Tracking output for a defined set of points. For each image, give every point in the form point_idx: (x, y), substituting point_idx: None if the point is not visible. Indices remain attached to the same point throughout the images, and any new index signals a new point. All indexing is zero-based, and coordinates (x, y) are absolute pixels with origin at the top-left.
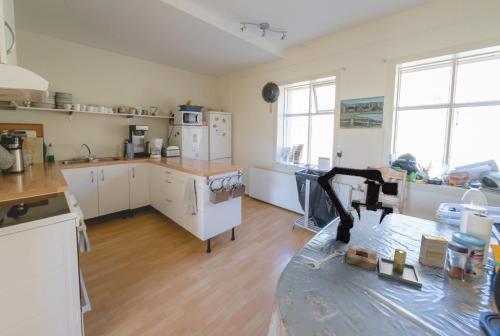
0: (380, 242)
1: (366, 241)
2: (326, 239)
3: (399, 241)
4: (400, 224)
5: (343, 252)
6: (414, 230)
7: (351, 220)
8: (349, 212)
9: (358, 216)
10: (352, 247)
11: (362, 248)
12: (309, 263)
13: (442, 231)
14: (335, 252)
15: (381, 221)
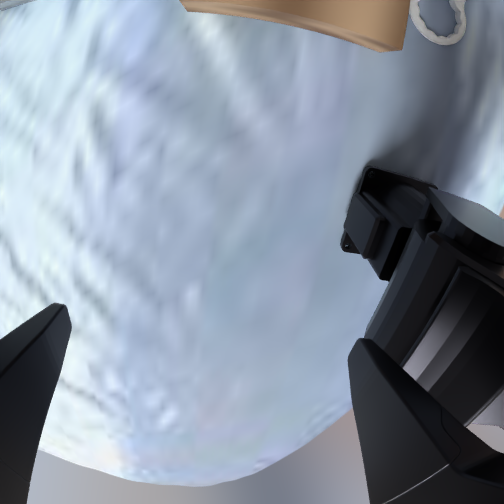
0: (129, 272)
1: (218, 251)
2: (476, 185)
3: None
4: (83, 436)
5: (417, 9)
6: None
7: (484, 279)
8: (470, 419)
9: (414, 382)
10: (380, 11)
11: (298, 10)
12: None
13: None
14: (460, 2)
15: (16, 329)
